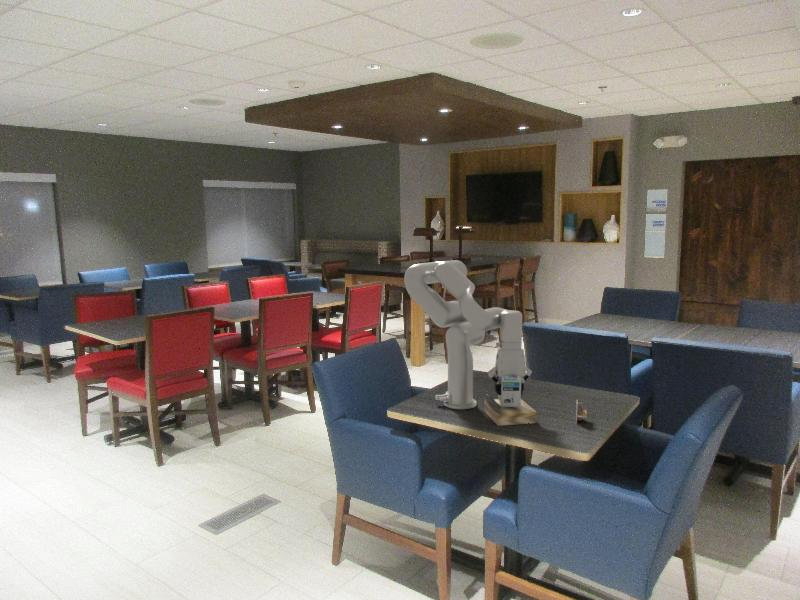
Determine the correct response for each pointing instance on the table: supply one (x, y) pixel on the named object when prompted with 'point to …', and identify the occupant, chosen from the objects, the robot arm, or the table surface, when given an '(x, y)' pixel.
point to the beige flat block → (508, 412)
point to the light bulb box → (510, 391)
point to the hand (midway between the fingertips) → (509, 393)
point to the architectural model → (580, 412)
